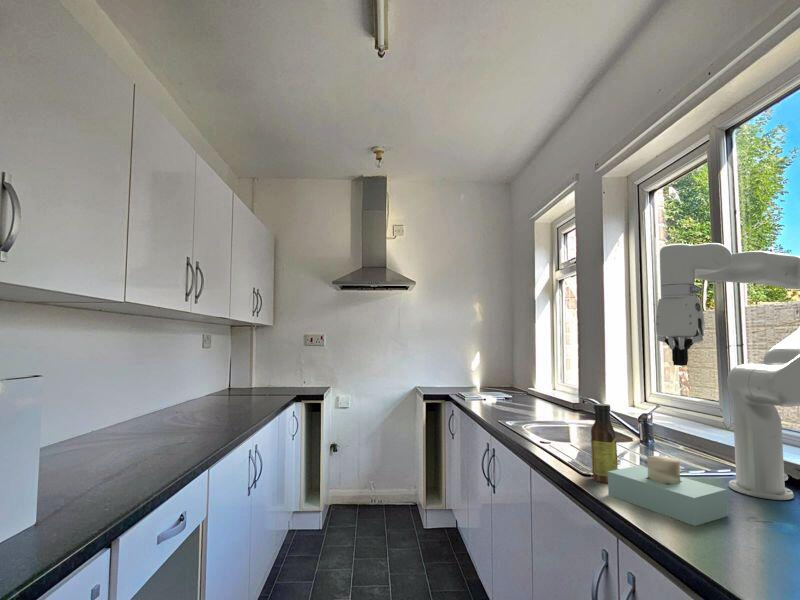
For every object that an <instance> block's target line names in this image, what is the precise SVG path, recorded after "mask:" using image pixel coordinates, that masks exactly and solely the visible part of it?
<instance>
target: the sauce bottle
mask: <svg viewBox="0 0 800 600" xmlns="http://www.w3.org/2000/svg"><path fill="white" fill-rule="evenodd" d="M593 410H594V424H592V426H591V428H590V429H591V430H590V435H591V436H590V449H591V451H590V453H591V469H592V472H591V473H592V477H593V478H592V479H594V481H596V482H598V483H602V484H608V471H612V470H618V469H619V468H618V467H619V466H618V448H617V435H616V432H615V430H614V427H613V423H612V422H611V414H610V413H611V405H610V404H605V403H594V404H593Z"/></svg>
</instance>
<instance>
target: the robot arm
mask: <svg viewBox="0 0 800 600" xmlns="http://www.w3.org/2000/svg"><path fill="white" fill-rule="evenodd" d="M659 250H660V251H659V272H660V273H659V277H660V298H659V299H658V302H657V305H656V306H657V307H656V315H655V317H656V318H655V331H656V335H657V341H658V342H661V343H665V344H666V345H668V347H669V349H670V350H671V357H672V359H671V360H672V362H673V363H672V364H673V366H677V367H678V366H683V367H684V366H688V361H689V351H688V350H690V349H691V347H692V346H693V345H694V344H697V343H701V342H703V341H704V338H703V337H704V336H706V335H705V334H706V323H705V315H704V311H703V306H702V302H701V299H700V297H696V295H697V293H700V292H701V287H700V286H696V280H699V281H706V282H707V281H708V282H709V281H710V282H724V283H725V282H726V283H738V284H757V285H764V286H772V287H779V288H785V289H786V288H787V289H792V290H793V289H794V290H800V255H792V254H784V253H778V252H772V251H764V250H751V251H742V252H735V253H732V252H731V250H730V249H729V248H728V247H727V246H725V244H722V243H718V242H710V243H701V244H687V243H672V244H667V245H664V246H663V247H661V248H660V249H659ZM798 305H799V306H798V316H799V318H800V304H798ZM762 362H763V363H742V364H739V365H736V366H735V367H733V368H732V369H730V371H729V372H728V375H727V381H726V385H727V390H728V393H729V397H730V400H731V406H732V413H733V438H734V440H733V441H734V460H735V462H734V463H735V465H734V466H735V479H731V480H729V481H728V486H729V488H730V489H731V490H733V491H735V492H738V493H740V494H743V495H747V496H751V497H754V498H760V499H766V500H774V501H775V500H776V501H788V500H792V499H794V492H793V490H791V489H790V488H788V487H786V485H785V484H786V483H785V481H788V479H789V476H788V475H789V474H787V473H786V472H785V463H784V449H783V448H784V446H783V445H784V444H783V426H782V425H783V424H782V419H781V416H780V414H779V411H778V409H777V408H776V406H778V407H785V408H794V407H798V406H800V325H799V327H798V328H797V329H796V330H795V331H794V332H793V333H792V334H790V335H788V336H787V337H785V338H784V339H783V340H781V341H779V342H778V343H777V344H776V345H774V346H772V347H771V348H770V349H769V350H767V352H766V353H765V355H764V356H763V361H762Z"/></svg>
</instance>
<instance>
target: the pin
mask: <svg viewBox="0 0 800 600" xmlns="http://www.w3.org/2000/svg"><path fill="white" fill-rule="evenodd" d="M646 461H647V466H646V467H647V468H648V479H649V480H651V481H654V482H658V483H663V484H666V485H671V484H679V483H680V477H681V467H680V466H681V464H680V460H678V459H676V458H672V457H667V456H662V455H661V456H659V455H649V456H647V457H646Z"/></svg>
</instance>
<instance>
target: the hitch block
mask: <svg viewBox="0 0 800 600" xmlns="http://www.w3.org/2000/svg"><path fill="white" fill-rule="evenodd" d="M607 491H608V496H611V497H614V498H616V499H619V500H622V501H623V502H627V503H630V504H633V505H635V506H638V507H641V508H643V509H646V510H650V511H653V512H655V513H657V514H660V515H663V516H665V517H668V516H669V518H671V517H672V518H671V519H674V518H675V519H674V520H677V521H679V520H680V522H682V523H685V524H688V525H690V526H694V527H696V526H699V525H703V524H706V523H710V522H712V521H717V520H719V519H723V518H726V517H728V516H729V515H728V514H729V513H728V496H727V494H728V492H727V489H726V488H723V487H719V486H715V485H712V484H708V483H704V482H701V481H697V480H693V479H690V478H686V477H682V476H680V483H679V484H671V485H666V484H663V483H658V482H654V481H651V480H649V479H648V466H644V465H643V466H642V465H636V466H629V467H625V468H623V467H622V468H618V470H612V471H608V483H607Z"/></svg>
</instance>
